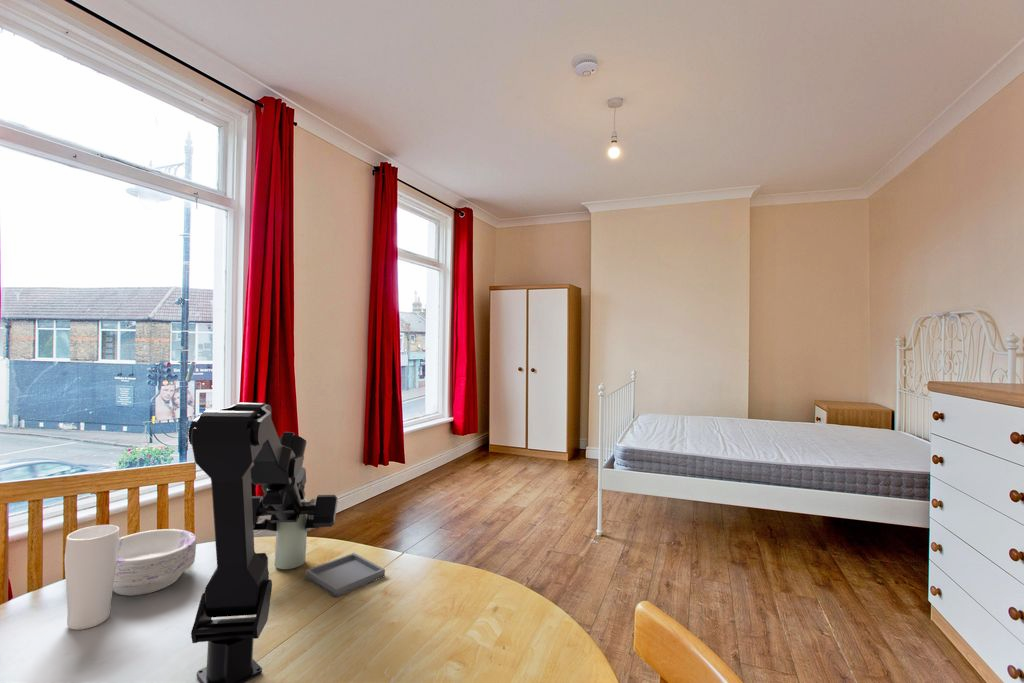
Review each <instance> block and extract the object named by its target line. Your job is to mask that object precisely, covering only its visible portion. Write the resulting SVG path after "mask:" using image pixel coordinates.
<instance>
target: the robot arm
mask: <svg viewBox="0 0 1024 683" xmlns="http://www.w3.org/2000/svg"><path fill="white" fill-rule="evenodd" d="M276 430H277V429H276V427H275V425H274V422H273V420H272V407H271V404H266V402H265V403H264V402H238V403H236V404H235V403H233V404H232V405H229V406H228V407H227V406H226V407H223V408H218V409H215V410H209V409H206V410H204V411H203V412H202V413H201V414H200V415H199V416H197V417H196V418H193V420H191V423H190V425H189V428H188V434H187V435H188V436H187V437H188V441H189V444H190V445H191V446H192V447H191V448H192V453H193V454H192V455H193V459H194V462H195V464H196V465H197V466H198V467H199V469H201V471H203V472H204V474H206V475H207V476H208V477H209V478H210V482H211V484H210V486H211V498H212V511H213V526H214V538H215V539H214V540H215V541H214V542H215V552H216V553H215V554H216V568H215V569H214V572H213V574H212V575H211V576H210V578H209V581H208V582H207V584H206V585H205V588H204V592H203V593H202V594H201V598H200V601H199V603H198V604H199V605H198V608H197V612H196V615H195V618H194V623H193V625H192V627H191V633H190V634H191V636H190V638H191V641H192V642H191V643H192V644H198V643H203V642H207V654H206V655H207V657H206V666H205V667H202V668H201V669H199V670H197V671H196V678H198V680H199V681H200V683H245V682H247V681H248V680H250V679H253V678H254V677H256V676H259V675H260V674H262V673H263V667H261V665H260V664H259V663H258V662H257V661H255V659H254V658H253V656H254V655H253V654H254V640H255V639H259V637H260V636H261V633H262V632H263V629H264V628H265V626H266V624H267V622H268V619H269V613H270V605H271V600H272V599H271V598H272V597H271V596H272V591H273V590H272V588H273V580H272V579H270V578H269V575H270V573H269V572H270V571H269V557H268V555H267V553H266V552H255V533H254V531H261V532H273V533H276V528H277V523H281V522H297V519H298V518H299V515H300V514H307V521H306V526H305V529H306V530H307V532H310V531H311V530H313V529H319V528H331V527H332V526H334V525H335V521H336V516H337V507H338V496H336V494H318V495H317V496H316V498H312V499H311V500H309V501H308V502H301V500H304V498H306V497H305V496H306V491H305V486H306V483H307V472H306V471H307V470H306V468H305V467H303V463H304V460H305V456H304V455H305V451H306V447H307V444H308V443H307V440H306V439H305V438H303V437H301V436H299V435H296V434H295V432H291V431H283V434H282V435H281V436H279V435H278V432H277V431H276ZM252 484H253V485H254V486H261V489H262V491H263V496H262V495H258V496H257V495H256V496H255V495H253V493H252ZM241 616H249V617H241ZM251 616H252V617H251ZM224 617H225V618H224ZM226 617H227V618H226ZM228 617H233V618H228ZM212 618H217V619H212Z"/></svg>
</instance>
